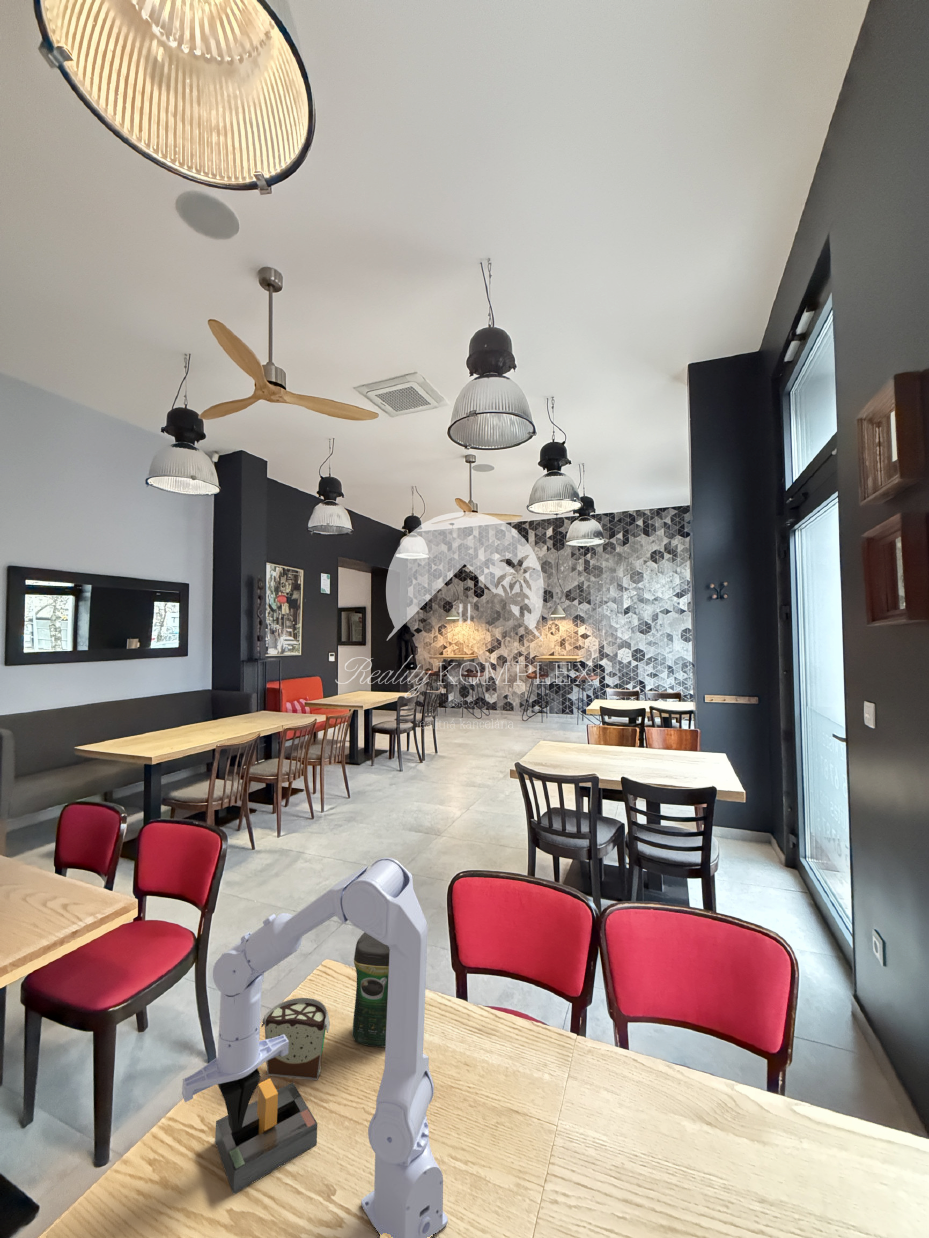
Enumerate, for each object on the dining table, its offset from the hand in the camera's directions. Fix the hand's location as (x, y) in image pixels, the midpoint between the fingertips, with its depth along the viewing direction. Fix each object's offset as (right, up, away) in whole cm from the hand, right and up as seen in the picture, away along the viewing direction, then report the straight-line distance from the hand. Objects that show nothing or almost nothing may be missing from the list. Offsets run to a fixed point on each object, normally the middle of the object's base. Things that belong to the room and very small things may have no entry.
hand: (235, 1125), depth 76 cm
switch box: (+4, -5, +3) cm, 7 cm away
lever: (+4, -5, +3) cm, 7 cm away
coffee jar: (+17, -8, +26) cm, 32 cm away
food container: (+4, -7, +18) cm, 20 cm away
